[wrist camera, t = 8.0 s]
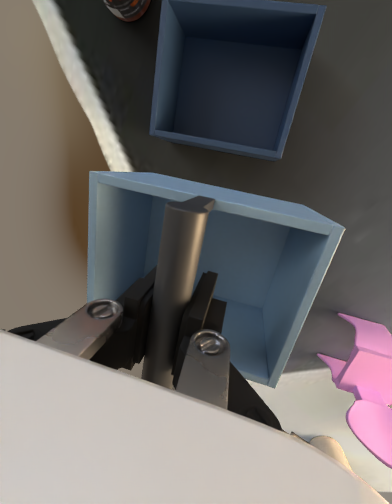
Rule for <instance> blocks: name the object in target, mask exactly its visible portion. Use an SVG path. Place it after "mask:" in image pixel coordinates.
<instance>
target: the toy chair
mask: <svg viewBox="0 0 392 504" xmlns="http://www.w3.org/2000/svg"><path fill="white" fill-rule="evenodd" d="M337 315H338V316H340V317H342V318H344V319H345V320H347V321H348V322H350V323H351V324H352V325H353V326H354V328H355V331H356V333H355V343H354V348H353V351H352V352H351V354H350V357H349V359H348V361H347V362H345V361H342V360H339V359H335V358H332V357H329V356H325V355H322V354H317V356H318V357H319V358H321V359H322V360H323V361H324V362H325V363H326V364H327V365H328V367H329V368H330V370H331V372H332V381H333V382H334V383H335V385H336V387H337V388H338V389H341V390H344V391H347V392H351V393H354V396H355V398H356V401H354V404H353V405H352V406H351V407H350V408H349V409H348V411H347V413H346V421H347V424H348V426H349V428H350V429H351V431H352V432H353V434H354V435H355V436H356V437H357V439H358V440H359V441H360V442H361V443H362V444H363V445H364V446H365V447H366V448H367V449H368V450H369V451H370V452H371V453H372V454H373V455H374V456H375V457H376V458H377V459H378V460H379V461H381V462H382V463H383V464H385V465H386V466H388V467H389V468H391V469H392V409H391V408H389V407H388V406H387V405H386V404H388V405H392V335H391V334H390V333H389V331H388V330H387V329H386V327H385V326H384V325H381V324H377V323H374V322H370V321H367V320H363V319H359V318H356V317H352V316H348V315H345V314H341V313H338V314H337Z"/></svg>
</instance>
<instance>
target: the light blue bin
mask: <svg viewBox="0 0 392 504" xmlns="http://www.w3.org/2000/svg"><path fill="white" fill-rule="evenodd" d="M344 230H345V227H343V226H341V225H339V224H337V223H336V222H334V221H332V220H330V219H328V218H326V217H325V216H323V215H321V214H319V213H317V212H315V211H314V210H312V209H310V208H308V207H306V206H304V205H301V204H296V203H292V202H287V201H282V200H278V199H273V198H268V197H264V196H259V195H254V194H250V193H245V192H240V191H235V190H231V189H226V188H221V187H217V186H212V185H207V184H203V183H198V182H193V181H189V180H184V179H179V178H175V177H170V176H165V175H160V174H156V173H141V172H107V171H104V172H103V171H90V176H89V226H88V281H87V282H88V283H87V303H89V302H91V301H93V300H96V299H103V298H105V299H113V300H116V299H118V298H119V297H120V296H121V295H122V294H123V293H124V292H125V291H126V290H127V289H128V288H129V287H130V286H131V285H132V284H133V283H134V282H135V281H137V280H138V279H139V278H144V277H145V276H146V275H147V274H148V273H149V272H150V271H151V270H152V269H153V268H154V267H155V266H156V265H157V270H156V277H155V284H154V291H153V299H152V306H151V313H150V320H149V327H148V335H147V342H146V349H145V356H144V363H143V370H142V378H141V379H143V380H146V381H149V382H151V383H154V384H157V385H160V386H162V387H165V388H168V389H171V390H172V386H173V384H172V381H173V375H171V372H172V367H173V362H174V357H175V352H176V347H177V342H178V337H179V332H180V327H181V322H182V318H183V315H184V312H185V310H186V307H187V305H188V304H189V303H190V300H191V297H192V295H193V293H194V291H195V288H196V286H197V284H198V282H199V280H200V278H201V276H202V274H203V272H204V273H207V272H208V271H211V272H215V273H218V277H217V281H216V285H215V289H214V293H213V298H215V299H218V300H222V301H225V302H227V305H226V311H225V316H224V322H223V327H222V333H221V334H222V335H223V336H224V337H225V338H226V339H227V340H228V342H229V344H230V362H231V363H232V364H233V365H234V366H235V368H236V369H237V370H238V371H239V372H240V374H241V375H242V376H243V377H244V378H245V379H248V380H251V381H254V382H257V383H260V384H263V385H267V386H269V387H272V388H276V385H277V383H278V381H279V378H280V376H281V374H282V372H283V369H284V367H285V365H286V362H287V360H288V358H289V356H290V353H291V351H292V349H293V346H294V344H295V342H296V340H297V337H298V335H299V333H300V331H301V328H302V326H303V324H304V321H305V319H306V317H307V315H308V312H309V310H310V308H311V305H312V303H313V301H314V299H315V296H316V294H317V292H318V289H319V287H320V285H321V283H322V280H323V278H324V276H325V273H326V271H327V269H328V267H329V264H330V262H331V260H332V257H333V255H334V253H335V251H336V248H337V246H338V244H339V241H340V239H341V237H342V235H343V232H344Z"/></svg>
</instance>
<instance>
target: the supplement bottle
mask: <svg viewBox="0 0 392 504" xmlns="http://www.w3.org/2000/svg"><path fill="white" fill-rule="evenodd" d="M102 1H103V3H104V4H105V5H106V6H107V7H108V9H109V10H110V11H111V12H112V13H113V14H114V15H115V16H116V17H117V18H119V19H121V20H123V21H127V22H130V21H134V20H137V19H139V18H140V17H141V16H142V15H143V14H144V13H145V12H146V10H147V8H148V6H149V4H150V1H151V0H102Z"/></svg>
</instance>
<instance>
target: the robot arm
mask: <svg viewBox="0 0 392 504" xmlns="http://www.w3.org/2000/svg"><path fill="white" fill-rule="evenodd" d="M156 270H157V265H156V266H155V267H154V268H153V269H152V270H151V271H150V272H149V273H148V274H147V275H146V276H145V277H144V278H139V279H138V280H137V281H135V282H134V283H133V284H132V285H131V286H130V287H129V288H128V289H127V290H126V291H125V292H124V293H123V294H122V295H121V296H120V297H119V298H118V299H116V300H113V299H105V298H103V299H96V300H93V301H91V302H89V303H87V304H86V305H84V306H83V307H82V308H80V309H79V310H78V311H76V312H75V313H73V314H72V315H71V316H70V317H68V318H64V319H59V320H53V321H48V322H43V323H38V324H32V325H27V326H21V327H18V328H14V329H11V330H9V331H5V330H4V329H0V504H390V503H388V502H387V501H386V500H385V499H384V498H383V497H382V496H381V495H380V494H379V493H378V492H377V491H376V490H374V489H373V488H372V487H371V486H370V485H369V484H367V483H366V482H365V481H364V480H363V479H361V478H360V477H359V476H357V475H356V474H355V473H353V472H352V471H351V470H349V469H348V468H346V467H345V466H344V465H342V464H341V463H340V462H338V461H337V460H335V459H334V458H332V457H330V456H329V455H327V454H325V453H324V452H322V451H321V450H319V449H317V448H316V447H314V446H312V445H311V444H310V443H308V442H307V441H305V440H304V439H302V438H301V437H299V436H298V435H296V434H295V433H294V432H291V434H290V435H289V434H288V433H287V432H285V431H284V430H282V428H281V425H280V423H279V421H278V419H277V418H276V416H275V415H274V413H273V412H272V411H271V410H270V409H269V407H268V406H267V405H266V404H265V403H264V401H263V400H262V399H261V398H260V396H259V395H258V394H257V393H256V392H255V390H254V389H253V388H252V387H251V386H250V384H249V383H248V382H247V381H246V380H245V378H244V377H243V376H242V375H241V374H240V372H239V371H238V370H237V369H236V368H235V366H234V365H233V364H232V363H231V362H230V344H229V342H228V340H227V339H226V338H225V337H224V336H223V335H222V334H221V333H222V327H223V322H224V316H225V311H226V305H227V302H225V301H222V300H218V299H215V298H213V293H214V289H215V285H216V281H217V277H218V273H215V272H211V271H208V272H207V273H204V272H203V274H202V276H201V278H200V280H199V282H198V284H197V286H196V288H195V291H194V293H193V295H192V297H191V300H190V303H189V304H188V305H187V307H186V310H185V312H184V315H183V318H182V322H181V327H180V332H179V337H178V342H177V347H176V352H175V357H174V362H173V367H172V372H171V375H173V381H172V384H173V385H174V387H175V389H176V391H173V390H171V389H168V388H165V387H162V386H160V385H157V384H154V383H151V382H149V381H146V380H143V379H140V378H137V377H135V376H132V375H129V374H126V373H123V372H121V371H118V369H119V368H125V369H128V370H131V369H132V368H133V366H134V364H135V363H138V364H139V363H140V362H141V360H142V358H143V357H144V355H145V349H146V342H147V335H148V327H149V320H150V313H151V306H152V299H153V291H154V284H155V277H156Z"/></svg>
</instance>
